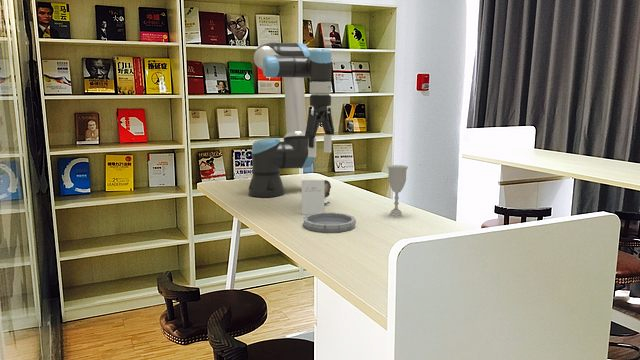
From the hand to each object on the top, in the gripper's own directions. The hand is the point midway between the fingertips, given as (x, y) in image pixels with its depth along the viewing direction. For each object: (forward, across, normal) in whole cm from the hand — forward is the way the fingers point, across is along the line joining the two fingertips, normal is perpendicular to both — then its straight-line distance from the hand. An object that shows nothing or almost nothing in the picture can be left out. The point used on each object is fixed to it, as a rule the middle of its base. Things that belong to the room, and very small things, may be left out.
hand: (320, 154), depth 190 cm
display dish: (+21, -15, -10) cm, 28 cm away
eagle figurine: (+21, +14, +5) cm, 26 cm away
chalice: (+22, +6, -27) cm, 35 cm away
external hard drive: (+22, -3, +2) cm, 22 cm away
